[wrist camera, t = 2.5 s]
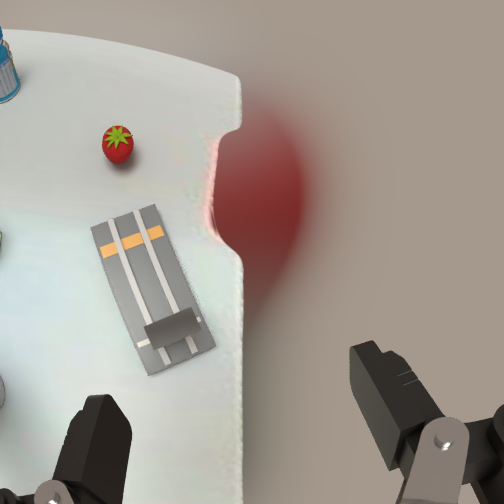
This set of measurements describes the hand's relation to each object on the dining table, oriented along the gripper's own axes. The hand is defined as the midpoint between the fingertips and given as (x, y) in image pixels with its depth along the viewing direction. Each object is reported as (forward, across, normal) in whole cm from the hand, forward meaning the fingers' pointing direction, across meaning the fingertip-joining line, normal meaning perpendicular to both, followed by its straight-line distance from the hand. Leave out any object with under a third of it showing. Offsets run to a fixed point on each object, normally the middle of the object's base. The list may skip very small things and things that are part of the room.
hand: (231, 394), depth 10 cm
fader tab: (+35, -13, -20) cm, 42 cm away
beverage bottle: (+63, -47, +34) cm, 85 cm away
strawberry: (+56, -18, +7) cm, 59 cm away
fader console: (+41, -15, -15) cm, 46 cm away
